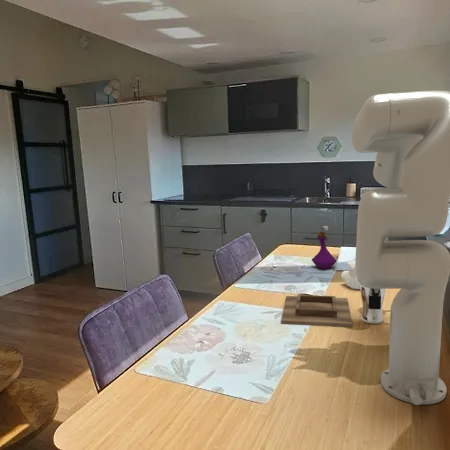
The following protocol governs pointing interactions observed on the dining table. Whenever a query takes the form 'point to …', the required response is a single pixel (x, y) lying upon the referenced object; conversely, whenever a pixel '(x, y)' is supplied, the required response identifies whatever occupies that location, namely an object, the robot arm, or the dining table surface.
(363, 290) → the white piece
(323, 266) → the perfume bottle
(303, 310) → the walnut stand
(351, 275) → the bust
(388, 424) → the dining table surface
